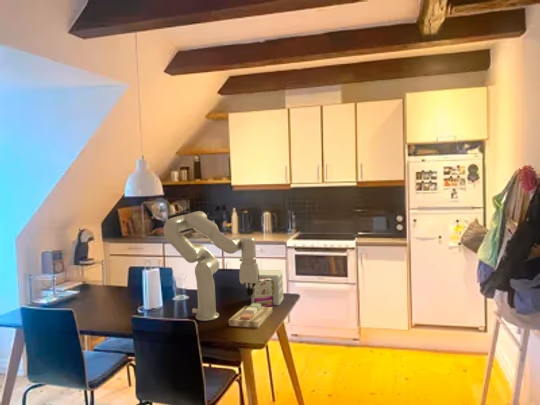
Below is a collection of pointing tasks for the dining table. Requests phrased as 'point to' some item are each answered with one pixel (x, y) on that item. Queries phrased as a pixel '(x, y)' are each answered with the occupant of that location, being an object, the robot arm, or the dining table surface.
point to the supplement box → (273, 284)
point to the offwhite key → (251, 310)
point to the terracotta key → (246, 316)
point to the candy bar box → (263, 293)
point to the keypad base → (254, 322)
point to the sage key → (256, 306)
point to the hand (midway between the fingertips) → (250, 294)
